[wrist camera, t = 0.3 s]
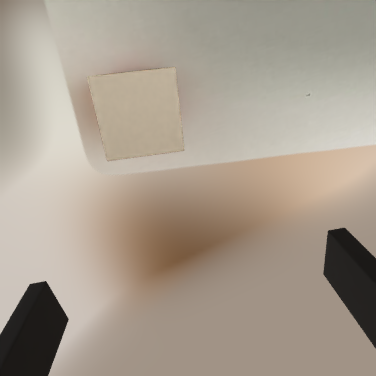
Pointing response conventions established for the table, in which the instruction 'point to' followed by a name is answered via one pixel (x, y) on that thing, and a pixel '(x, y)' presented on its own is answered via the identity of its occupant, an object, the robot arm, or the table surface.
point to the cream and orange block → (138, 112)
